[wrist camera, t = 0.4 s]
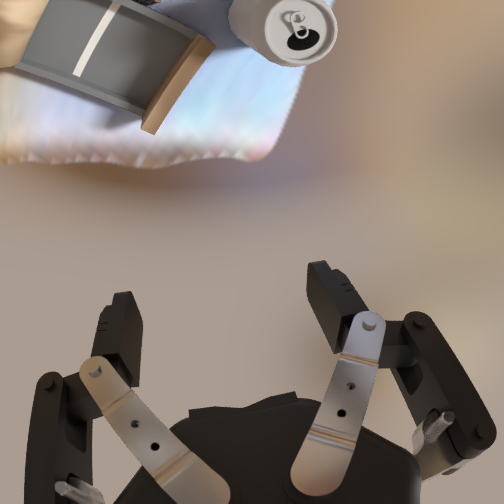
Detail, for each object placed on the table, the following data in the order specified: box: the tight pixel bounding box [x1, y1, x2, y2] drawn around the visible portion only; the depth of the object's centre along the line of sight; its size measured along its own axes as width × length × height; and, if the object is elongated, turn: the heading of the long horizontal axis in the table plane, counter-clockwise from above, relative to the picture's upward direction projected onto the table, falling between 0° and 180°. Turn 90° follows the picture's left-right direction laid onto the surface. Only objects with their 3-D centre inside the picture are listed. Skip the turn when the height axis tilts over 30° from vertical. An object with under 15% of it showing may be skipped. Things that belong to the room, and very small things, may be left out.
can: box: [228, 0, 338, 67], centre depth 22 cm, size 8×8×12 cm
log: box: [0, 0, 49, 68], centre depth 15 cm, size 7×8×7 cm
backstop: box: [141, 32, 216, 135], centre depth 28 cm, size 2×11×6 cm, turn 142°
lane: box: [11, 0, 198, 117], centre depth 21 cm, size 23×11×2 cm, turn 51°
